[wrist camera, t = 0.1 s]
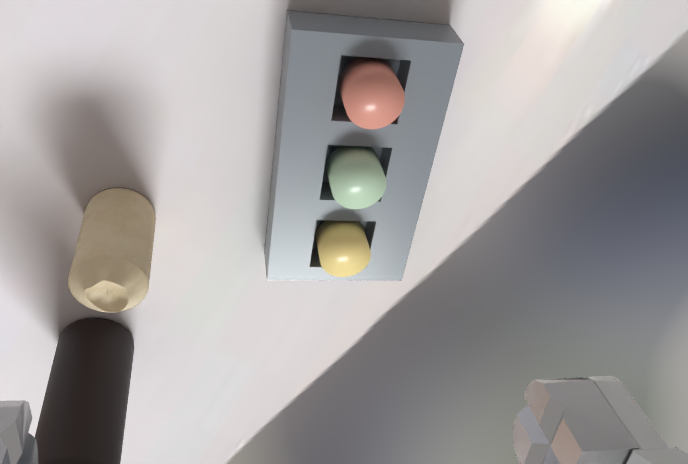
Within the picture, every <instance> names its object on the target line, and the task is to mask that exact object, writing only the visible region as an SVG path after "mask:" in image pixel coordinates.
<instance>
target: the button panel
mask: <svg viewBox="0 0 688 464" xmlns="http://www.w3.org/2000/svg"><path fill="white" fill-rule="evenodd" d="M463 46H464V43H463V42H462V40H461V39H460V38H459V37H458V35H457V34H456V33H455V31H454V30H453V29H452V27H451V26H450V25H442V24H431V23H420V22H409V21H398V20H387V19H376V18H364V17H353V16H342V15H331V14H320V13H309V12H298V11H287V18H286V28H285V39H284V50H283V60H282V71H281V82H280V93H279V103H278V114H277V125H276V136H275V146H274V157H273V168H272V178H271V189H270V200H269V211H268V221H267V232H266V243H265V265H266V275H267V280H398V281H402V278H403V274H404V270H405V266H406V262H407V259H408V255H409V251H410V247H411V243H412V240H413V236H414V232H415V228H416V224H417V221H418V217H419V213H420V209H421V206H422V202H423V198H424V194H425V190H426V187H427V183H428V179H429V175H430V171H431V168H432V164H433V160H434V156H435V152H436V149H437V145H438V141H439V137H440V133H441V130H442V126H443V122H444V118H445V114H446V111H447V107H448V103H449V99H450V95H451V92H452V88H453V84H454V80H455V76H456V73H457V69H458V65H459V61H460V57H461V54H462V50H463ZM360 57H370V58H382V59H384V60H385V61H387V62H388V63H389V64H390V65H391V67H392V68H393V70H394V72H395V74H396V76H397V78H398V80H399V82H400V84H401V86H402V88H403V90H404V94H405V103H404V107H403V109H402V112H401V113H400V115H399V116H398V117H397V118H396V119H395V120H394V121H393V122H392V123H390V124H389V125H387V126H385V127H382V128H379V129H365V128H362V127H359V126H357V125H356V124H354V123H353V122H352V121H351V120H350V119H349V117H348V115H347V113H346V110H345V107H344V104H343V101H342V98H341V95H340V92H339V78H340V75H341V73H342V71H343V70H344V68H345V67H346V66H347V65H348V64H349V63H350V62H352V61H353V60H355V59H357V58H360ZM341 145H343V146H365V147H371V148H373V149H374V151H375V152H376V154H377V156H378V159H379V161H380V164H381V167H382V169H383V172H384V175H385V178H386V189H385V192H384V194H383V195H382V197H381V198H380V199H379V200H378V201H377V202H376V203H374V204H373V205H371V206H369V207H366V208H362V209H349V208H346V207H343V206H341V205H340V204H339V203H337V201H336V200H335V199H334V197H333V195H332V191H331V187H330V183H329V179H328V175H327V171H326V164H327V160H328V158H329V156H330V154H331V153H332V152H333V151H334V150H335V149H336V148H338V147H339V146H341ZM326 220H331V221H360V222H361V224H362V225H363V228H364V231H365V234H366V238H367V241H368V244H369V248H370V252H371V258H370V261H369V263H368V265H367V266H366V267H365V268H364V269H363V270H362V271H361V272H359V273H357V274H355V275H352V276H348V277H336V276H333V275H330V274H328V273H327V272H326V271H325V270H324V269H323V268H322V266H321V263H320V258H319V253H318V248H317V243H316V232H317V229H318V228H319V226H320V225H321V224H322V223H323V222H324V221H326Z"/></svg>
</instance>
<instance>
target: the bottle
mask: <svg viewBox="0 0 688 464" xmlns="http://www.w3.org/2000/svg"><path fill="white" fill-rule="evenodd" d="M133 353H134V342H133V338H132V336H131V335H130V333H129V331H128V330H126V329H125V328H124V327H123V326H121V325H119V324H117V323H115V322H113V321H110V320H104V319H84V320H80V321H76V322H74V323H73V324H71V325H69V326H67V327H66V328H65V330H64V331H63V332H62V333H61V334H60V337H59V340H58V344H57V348H56V352H55V356H54V360H53V364H52V368H51V373H50V377H49V381H48V385H47V389H46V393H45V397H44V401H43V406H42V410H41V414H40V418H39V422H38V426H37V430H36V434H35V438H36V442H37V448H38V464H120V461H121V452H122V444H123V436H124V427H125V419H126V411H127V403H128V394H129V386H130V378H131V370H132V361H133Z"/></svg>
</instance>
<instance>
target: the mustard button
mask: <svg viewBox="0 0 688 464" xmlns="http://www.w3.org/2000/svg"><path fill="white" fill-rule="evenodd" d="M316 243H317V248H318V253H319V258H320V263H321V266H322V268H323V269H324V270H325V271H326V272H327V273H328V274H330V275H333V276H336V277H348V276H352V275H355V274H357V273H359V272H361V271H362V270H363V269H364V268H365V267H366V266H367V265H368V263H369V261H370V258H371V252H370V248H369V244H368V241H367V238H366V234H365V231H364V228H363V225H362V224H361V222H360V221H331V220H326V221H324V222H323V223H322V224H321V225H320V226H319V228H318V229H317V232H316Z"/></svg>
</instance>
